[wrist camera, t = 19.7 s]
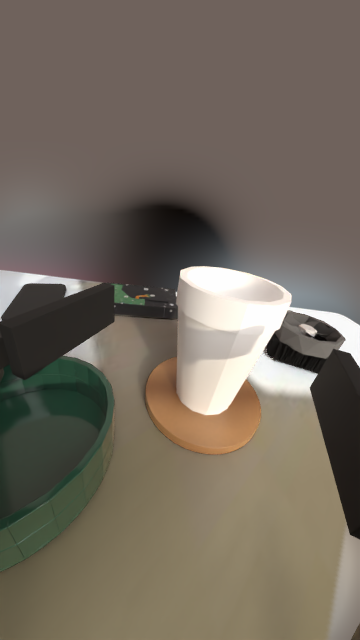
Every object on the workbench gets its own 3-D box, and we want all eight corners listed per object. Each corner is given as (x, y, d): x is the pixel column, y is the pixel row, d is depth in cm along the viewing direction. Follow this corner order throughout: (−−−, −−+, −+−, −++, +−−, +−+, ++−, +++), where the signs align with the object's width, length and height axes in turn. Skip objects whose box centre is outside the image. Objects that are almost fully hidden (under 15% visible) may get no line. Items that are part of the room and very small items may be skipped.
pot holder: (144, 360, 29) (144, 354, 28) (232, 361, 31) (233, 355, 31) (146, 461, 17) (147, 454, 17) (282, 448, 20) (286, 442, 20)
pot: (-19, 389, 21) (-33, 353, 19) (119, 386, 24) (120, 355, 22) (-210, 614, 10) (-300, 586, 7) (100, 558, 12) (98, 527, 10)
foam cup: (226, 363, 29) (255, 271, 23) (261, 424, 21) (320, 308, 15) (157, 364, 27) (170, 262, 21) (168, 433, 19) (194, 300, 13)
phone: (-3, 320, 30) (24, 283, 42) (-1, 324, 31) (25, 287, 43) (56, 318, 33) (66, 284, 45) (57, 322, 33) (66, 287, 45)
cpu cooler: (356, 351, 28) (277, 329, 30) (335, 382, 31) (264, 360, 33) (333, 319, 37) (273, 304, 39) (318, 346, 39) (263, 330, 42)
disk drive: (172, 299, 49) (106, 293, 46) (174, 288, 48) (106, 281, 45) (178, 321, 40) (97, 315, 37) (181, 308, 39) (96, 300, 36)
